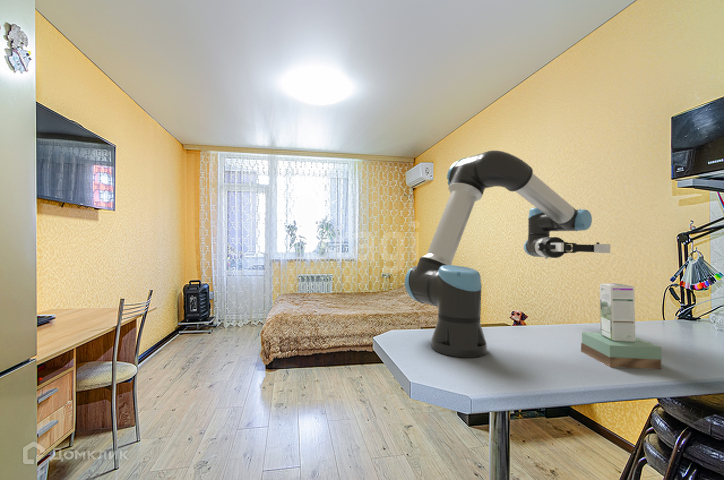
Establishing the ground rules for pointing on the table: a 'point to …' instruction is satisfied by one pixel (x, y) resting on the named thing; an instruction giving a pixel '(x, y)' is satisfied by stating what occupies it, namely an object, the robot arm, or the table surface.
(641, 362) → the bottom slab
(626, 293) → the syrup box
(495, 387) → the table surface
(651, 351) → the top slab
